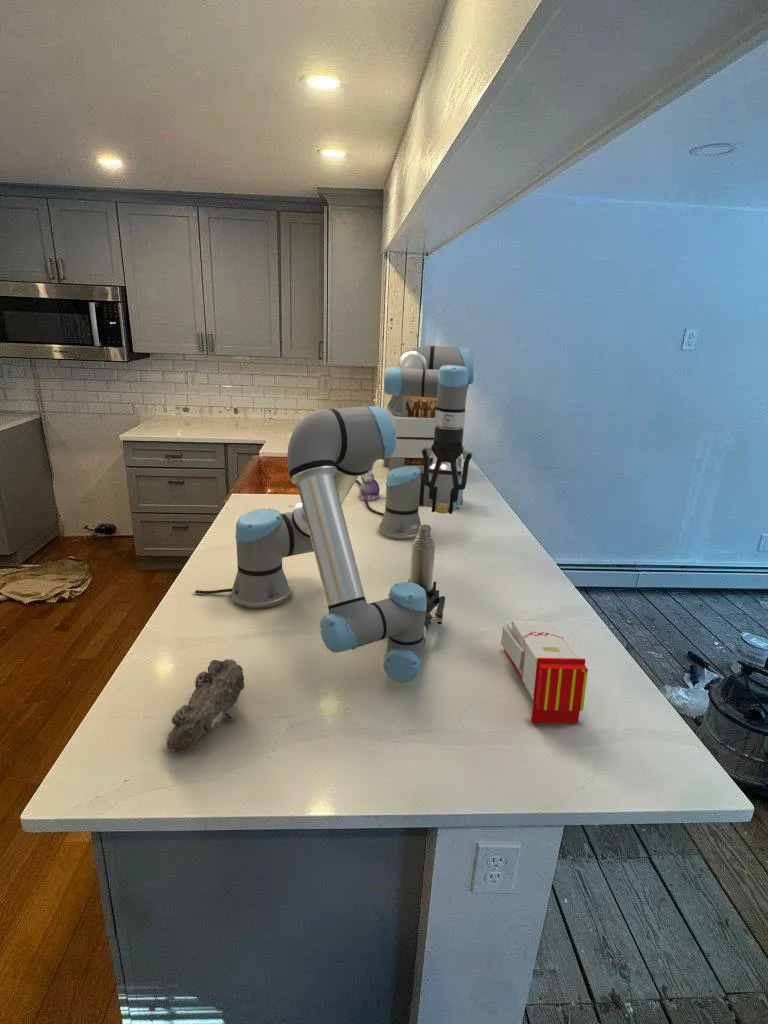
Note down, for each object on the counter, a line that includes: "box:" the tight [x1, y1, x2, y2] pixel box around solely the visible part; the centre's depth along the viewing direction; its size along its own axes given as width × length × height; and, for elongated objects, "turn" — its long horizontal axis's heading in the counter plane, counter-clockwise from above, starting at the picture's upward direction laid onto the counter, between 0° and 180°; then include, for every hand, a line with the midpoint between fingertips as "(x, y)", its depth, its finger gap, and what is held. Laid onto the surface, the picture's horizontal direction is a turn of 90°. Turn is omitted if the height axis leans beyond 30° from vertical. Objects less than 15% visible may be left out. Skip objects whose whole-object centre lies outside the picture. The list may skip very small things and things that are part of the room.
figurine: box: [359, 465, 381, 502], centre depth 233 cm, size 9×10×15 cm
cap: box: [435, 503, 450, 514], centre depth 155 cm, size 4×4×2 cm
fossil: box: [166, 658, 245, 754], centre depth 106 cm, size 22×10×15 cm
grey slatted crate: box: [383, 395, 465, 472], centre depth 268 cm, size 34×33×41 cm
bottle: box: [409, 524, 436, 615], centre depth 143 cm, size 6×6×25 cm
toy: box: [500, 620, 589, 724], centre depth 121 cm, size 12×13×30 cm
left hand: (422, 584), depth 150 cm, fingers closed on bottle, 6 cm apart
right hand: (442, 511), depth 155 cm, fingers closed on cap, 4 cm apart
